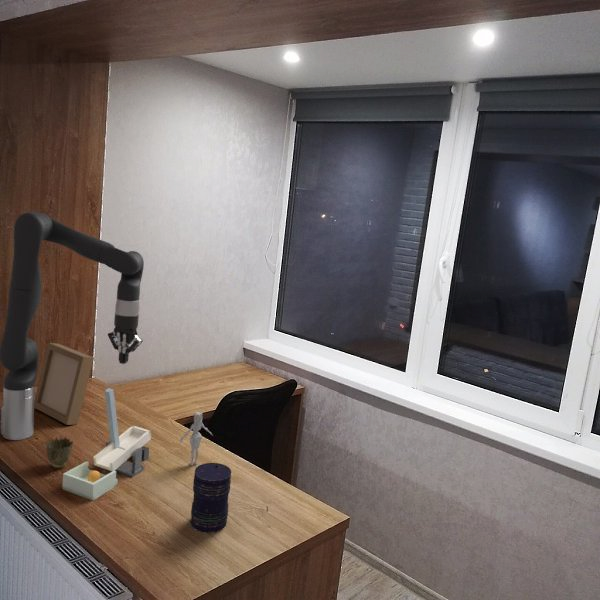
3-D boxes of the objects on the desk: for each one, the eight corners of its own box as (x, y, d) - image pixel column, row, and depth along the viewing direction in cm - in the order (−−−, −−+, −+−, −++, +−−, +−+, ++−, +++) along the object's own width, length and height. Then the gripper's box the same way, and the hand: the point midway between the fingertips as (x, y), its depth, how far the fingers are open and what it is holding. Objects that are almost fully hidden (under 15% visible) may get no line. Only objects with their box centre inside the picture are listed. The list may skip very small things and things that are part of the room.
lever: (91, 464, 169) (83, 403, 161) (131, 432, 184) (125, 375, 177) (115, 472, 166) (108, 411, 158) (153, 439, 181) (148, 382, 173)
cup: (76, 468, 173) (77, 443, 171) (52, 475, 167) (52, 450, 166) (65, 459, 178) (66, 435, 176) (41, 465, 172) (42, 440, 171)
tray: (62, 489, 161) (62, 473, 160) (88, 474, 170) (88, 460, 169) (92, 500, 157) (93, 484, 156) (117, 485, 166) (118, 470, 165)
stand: (100, 466, 175) (101, 443, 174) (127, 451, 187) (128, 430, 186) (132, 477, 171) (133, 454, 170) (157, 461, 183) (158, 439, 181)
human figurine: (207, 458, 188) (211, 407, 185) (213, 463, 185) (217, 411, 182) (174, 466, 180) (178, 413, 177) (180, 471, 177) (184, 418, 174)
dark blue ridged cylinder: (220, 536, 147) (225, 483, 144) (184, 529, 148) (188, 476, 145) (231, 516, 156) (236, 466, 154) (198, 509, 158) (201, 459, 155)
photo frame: (66, 427, 200) (69, 359, 196) (32, 409, 212) (34, 345, 208) (102, 416, 212) (105, 352, 208) (68, 400, 224) (70, 339, 220)
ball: (83, 475, 162) (91, 466, 165) (86, 484, 164) (94, 474, 167) (93, 479, 161) (101, 469, 164) (96, 487, 163) (104, 478, 166)
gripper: (102, 310, 183) (99, 361, 187) (136, 318, 179) (131, 370, 182) (118, 307, 190) (114, 356, 193) (150, 314, 186) (146, 365, 189)
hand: (123, 363), depth 188 cm, fingers closed
